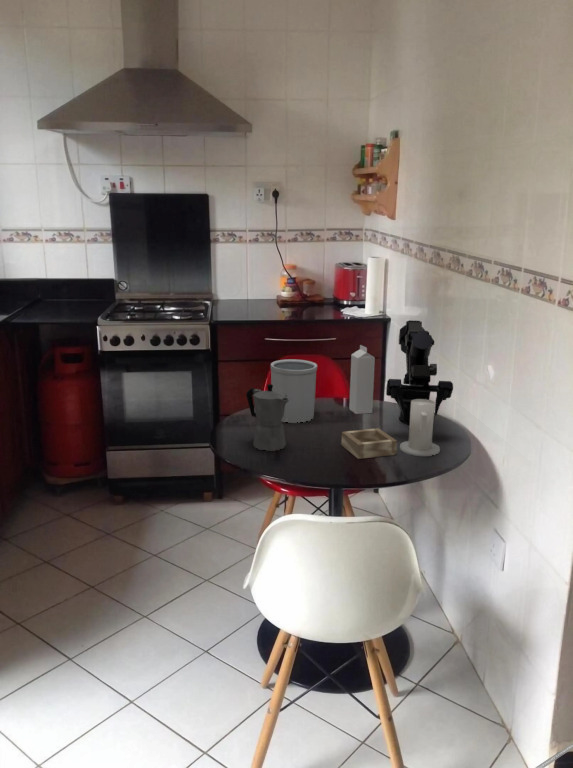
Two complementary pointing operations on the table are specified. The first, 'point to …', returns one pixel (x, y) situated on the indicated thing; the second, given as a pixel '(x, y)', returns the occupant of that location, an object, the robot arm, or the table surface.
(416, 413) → the jug
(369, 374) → the milk
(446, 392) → the robot arm
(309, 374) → the utensil holder
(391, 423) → the table surface
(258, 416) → the coffeepot
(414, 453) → the mat
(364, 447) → the stand
